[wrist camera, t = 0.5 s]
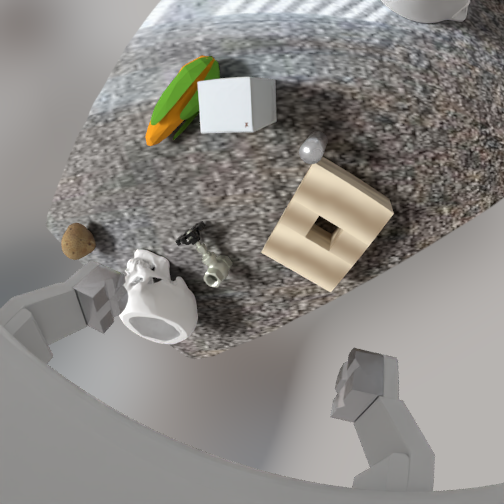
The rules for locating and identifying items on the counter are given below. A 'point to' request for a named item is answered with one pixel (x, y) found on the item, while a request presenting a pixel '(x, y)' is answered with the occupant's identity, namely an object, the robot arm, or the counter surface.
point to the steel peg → (313, 148)
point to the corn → (180, 99)
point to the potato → (77, 241)
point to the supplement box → (236, 104)
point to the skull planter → (157, 301)
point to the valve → (207, 257)
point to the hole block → (335, 211)
